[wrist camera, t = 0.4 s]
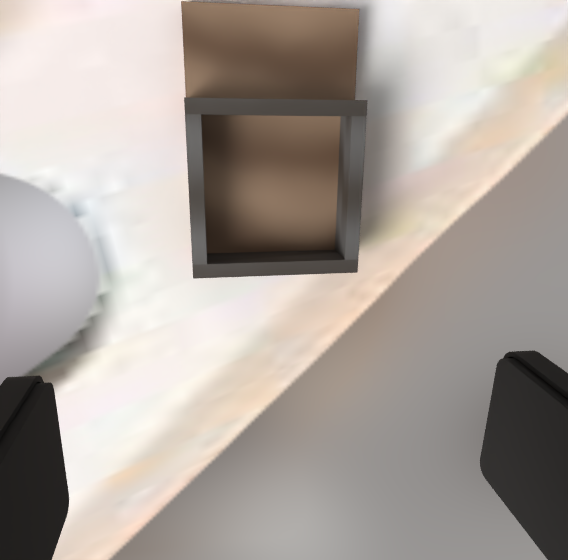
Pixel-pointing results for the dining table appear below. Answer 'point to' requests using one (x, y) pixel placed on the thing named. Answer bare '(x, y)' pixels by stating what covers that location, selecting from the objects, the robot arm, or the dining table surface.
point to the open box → (273, 139)
